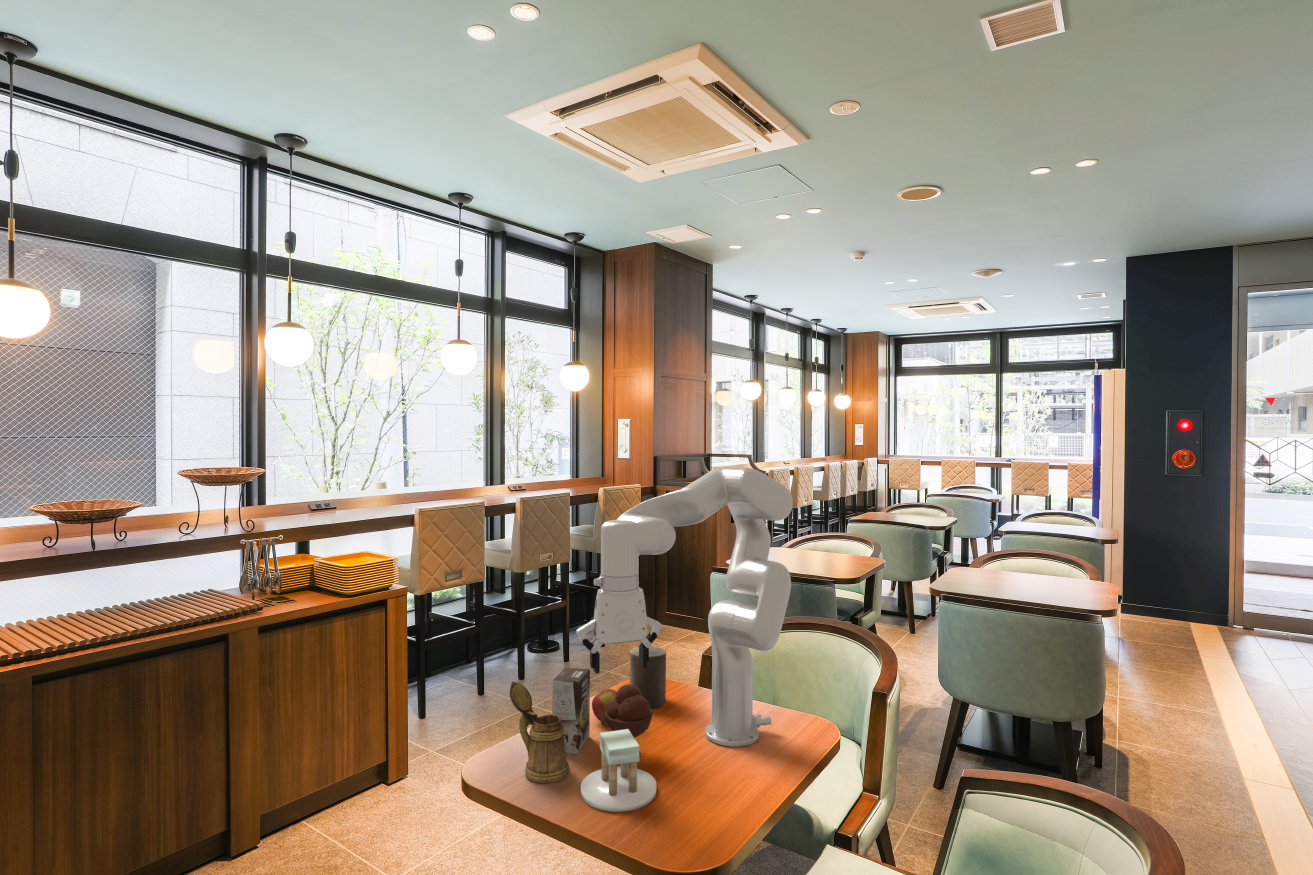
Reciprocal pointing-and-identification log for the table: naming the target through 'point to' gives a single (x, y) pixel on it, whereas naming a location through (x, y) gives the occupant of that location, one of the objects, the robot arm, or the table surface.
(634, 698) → the ice cream bowl
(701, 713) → the table surface
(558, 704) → the coffee box
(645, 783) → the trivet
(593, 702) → the apple
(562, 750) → the wooden mug
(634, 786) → the mint green stool
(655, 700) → the pillar candle
